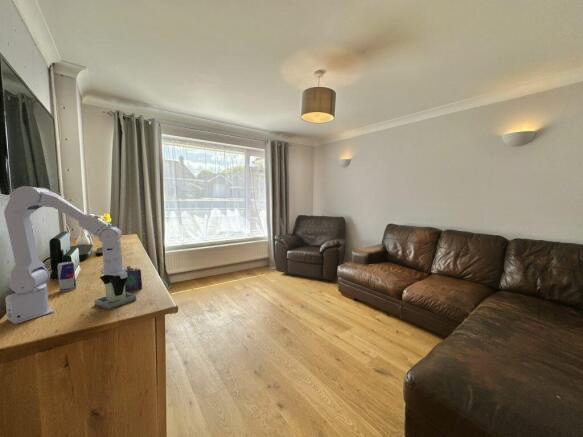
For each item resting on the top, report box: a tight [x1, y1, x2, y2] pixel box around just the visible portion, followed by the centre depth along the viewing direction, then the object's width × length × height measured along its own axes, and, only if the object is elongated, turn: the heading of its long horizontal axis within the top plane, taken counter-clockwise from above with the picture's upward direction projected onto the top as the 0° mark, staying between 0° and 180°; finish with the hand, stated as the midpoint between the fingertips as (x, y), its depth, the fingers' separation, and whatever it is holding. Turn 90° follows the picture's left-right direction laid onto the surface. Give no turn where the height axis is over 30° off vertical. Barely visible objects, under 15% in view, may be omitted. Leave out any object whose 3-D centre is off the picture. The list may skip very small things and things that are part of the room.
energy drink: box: [56, 261, 77, 293], centre depth 105 cm, size 5×5×12 cm
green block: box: [104, 283, 126, 302], centre depth 91 cm, size 4×4×6 cm
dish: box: [94, 291, 137, 311], centre depth 91 cm, size 10×10×2 cm
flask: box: [125, 265, 143, 292], centre depth 104 cm, size 9×3×11 cm, turn 109°
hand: (115, 294), depth 91 cm, fingers closed on green block, 4 cm apart
